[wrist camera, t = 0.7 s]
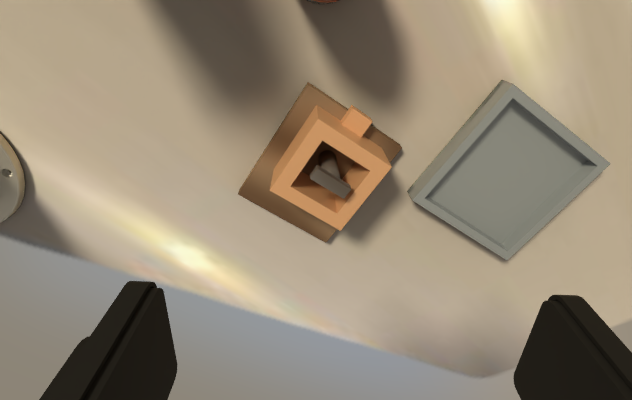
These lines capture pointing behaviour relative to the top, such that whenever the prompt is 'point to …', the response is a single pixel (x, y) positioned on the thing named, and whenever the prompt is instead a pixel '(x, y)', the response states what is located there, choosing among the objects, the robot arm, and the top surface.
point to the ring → (360, 177)
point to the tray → (506, 172)
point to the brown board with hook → (321, 167)
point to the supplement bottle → (322, 1)
